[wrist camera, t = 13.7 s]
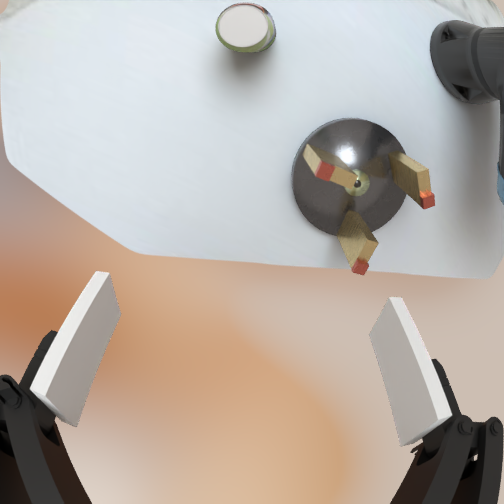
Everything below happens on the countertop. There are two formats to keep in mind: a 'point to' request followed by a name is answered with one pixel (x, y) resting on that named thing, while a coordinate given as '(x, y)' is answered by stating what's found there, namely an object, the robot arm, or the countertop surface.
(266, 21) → the beverage can
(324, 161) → the knob
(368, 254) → the knob
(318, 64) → the countertop surface
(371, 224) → the tribrach plate
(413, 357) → the robot arm
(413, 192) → the knob
